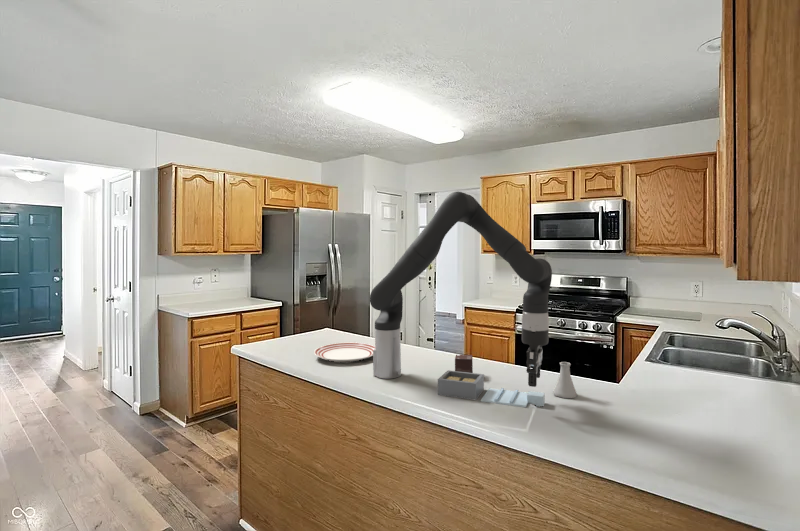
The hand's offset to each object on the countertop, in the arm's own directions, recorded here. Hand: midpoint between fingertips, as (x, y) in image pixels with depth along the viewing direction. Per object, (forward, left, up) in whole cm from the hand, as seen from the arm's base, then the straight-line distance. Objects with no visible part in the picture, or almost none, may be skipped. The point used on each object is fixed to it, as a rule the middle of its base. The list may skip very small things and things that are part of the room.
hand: (534, 381), depth 127 cm
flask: (+8, +11, -7) cm, 15 cm away
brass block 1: (-25, 0, -6) cm, 25 cm away
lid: (-6, 0, -7) cm, 9 cm away
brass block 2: (-20, 0, -6) cm, 20 cm away
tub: (-22, 0, -7) cm, 23 cm away
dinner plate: (-80, +26, -7) cm, 85 cm away
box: (-26, +17, -7) cm, 32 cm away
